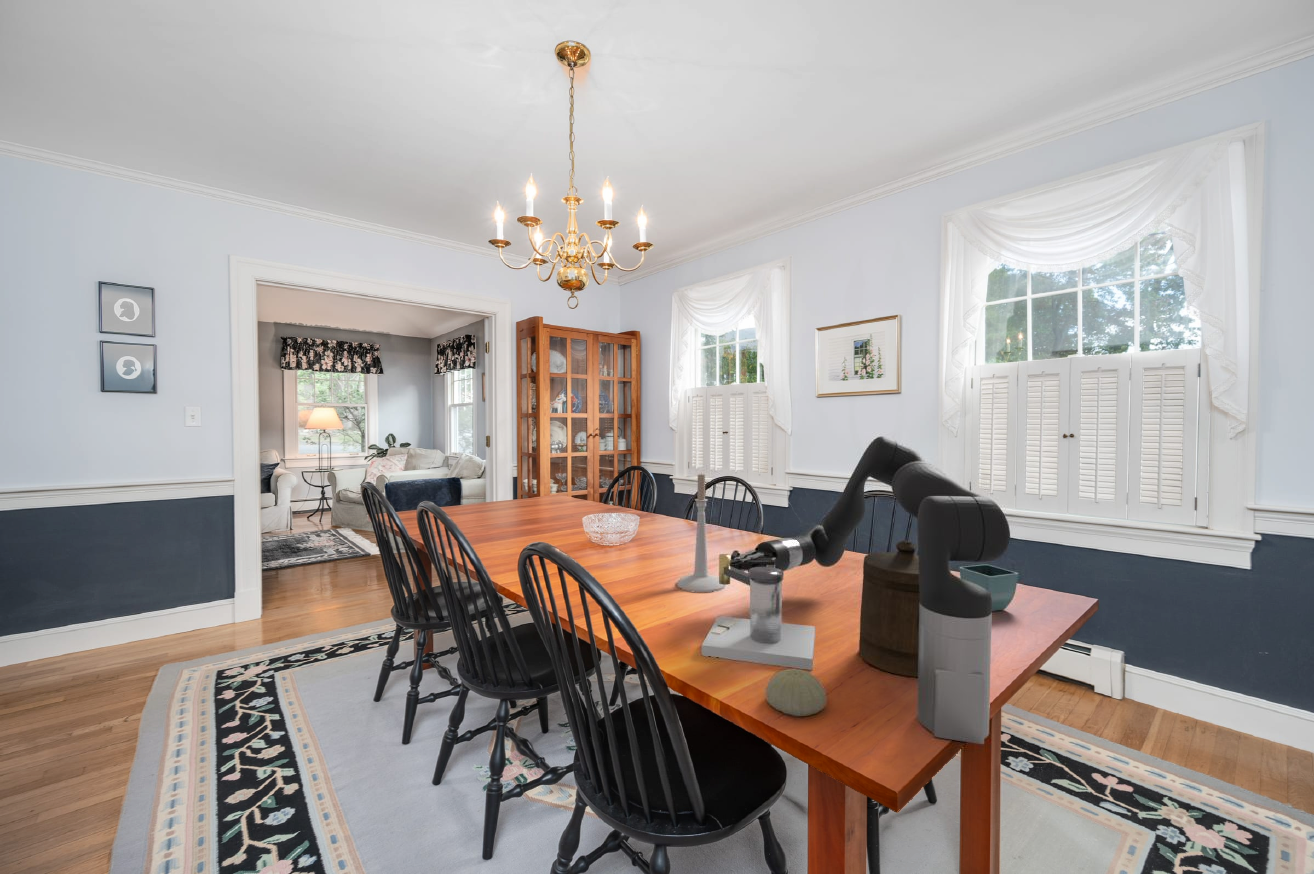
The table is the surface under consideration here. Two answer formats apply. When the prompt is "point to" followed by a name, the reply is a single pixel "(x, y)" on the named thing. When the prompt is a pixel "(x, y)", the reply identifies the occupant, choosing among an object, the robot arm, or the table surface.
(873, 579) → the wooden container
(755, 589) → the capstan
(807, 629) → the stand
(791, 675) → the sea urchin shell
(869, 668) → the table surface
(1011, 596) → the flower pot
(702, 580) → the candlestick
